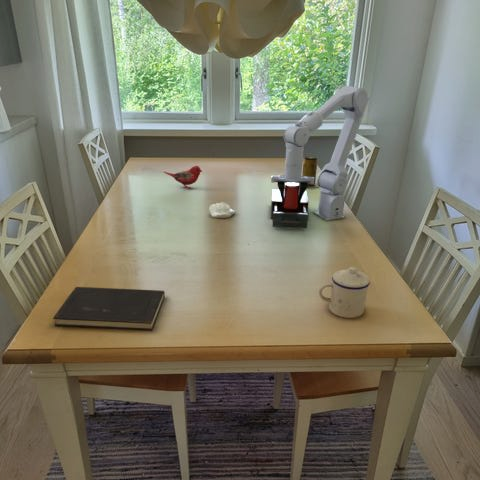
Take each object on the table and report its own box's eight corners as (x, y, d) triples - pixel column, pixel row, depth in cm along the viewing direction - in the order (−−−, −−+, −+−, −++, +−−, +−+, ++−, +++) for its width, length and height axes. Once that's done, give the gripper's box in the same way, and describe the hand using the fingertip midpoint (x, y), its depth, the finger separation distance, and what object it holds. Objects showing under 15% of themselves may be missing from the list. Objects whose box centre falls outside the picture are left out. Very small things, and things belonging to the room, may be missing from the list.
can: (300, 208, 168) (302, 185, 164) (287, 209, 166) (289, 186, 162) (293, 203, 172) (295, 181, 168) (281, 205, 170) (282, 182, 166)
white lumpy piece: (205, 199, 180) (230, 197, 183) (205, 210, 182) (230, 208, 185) (212, 207, 172) (238, 205, 175) (212, 219, 174) (238, 217, 177)
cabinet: (306, 220, 176) (308, 202, 172) (270, 218, 176) (271, 201, 173) (304, 207, 188) (306, 190, 184) (271, 206, 188) (272, 189, 185)
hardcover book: (152, 330, 111) (151, 322, 110) (54, 326, 112) (52, 317, 111) (164, 297, 125) (164, 289, 124) (77, 293, 126) (76, 285, 125)
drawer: (307, 232, 163) (309, 218, 161) (272, 231, 164) (273, 216, 161) (304, 215, 178) (306, 201, 175) (272, 214, 179) (273, 200, 176)
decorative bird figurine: (201, 191, 203) (201, 167, 198) (162, 187, 207) (161, 163, 202) (203, 189, 205) (203, 165, 200) (165, 185, 209) (164, 161, 204)
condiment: (308, 181, 219) (310, 154, 212) (322, 186, 213) (325, 158, 207) (296, 184, 215) (299, 156, 209) (310, 188, 209) (313, 160, 203)
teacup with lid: (360, 301, 125) (367, 260, 119) (367, 319, 118) (376, 277, 112) (314, 300, 125) (319, 259, 119) (319, 318, 118) (324, 275, 112)
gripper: (272, 166, 158) (270, 206, 166) (316, 167, 158) (312, 207, 165) (272, 160, 164) (270, 199, 171) (314, 162, 164) (310, 201, 171)
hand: (290, 203), depth 169 cm, fingers closed on can, 5 cm apart
